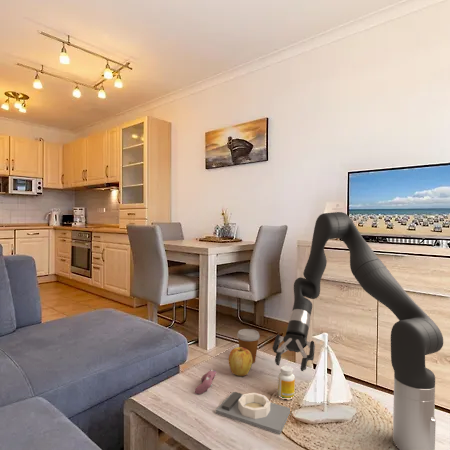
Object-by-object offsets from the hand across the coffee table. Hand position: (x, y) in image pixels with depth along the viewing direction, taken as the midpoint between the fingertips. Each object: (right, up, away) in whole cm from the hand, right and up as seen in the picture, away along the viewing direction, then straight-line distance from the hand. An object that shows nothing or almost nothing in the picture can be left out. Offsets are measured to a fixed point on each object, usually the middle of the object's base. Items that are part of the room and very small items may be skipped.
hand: (289, 367), depth 109 cm
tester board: (-13, -8, -12) cm, 20 cm away
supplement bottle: (-2, -9, -3) cm, 9 cm away
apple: (-16, -8, +13) cm, 22 cm away
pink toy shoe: (-29, -8, +2) cm, 30 cm away
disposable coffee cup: (-12, -8, +24) cm, 29 cm away
